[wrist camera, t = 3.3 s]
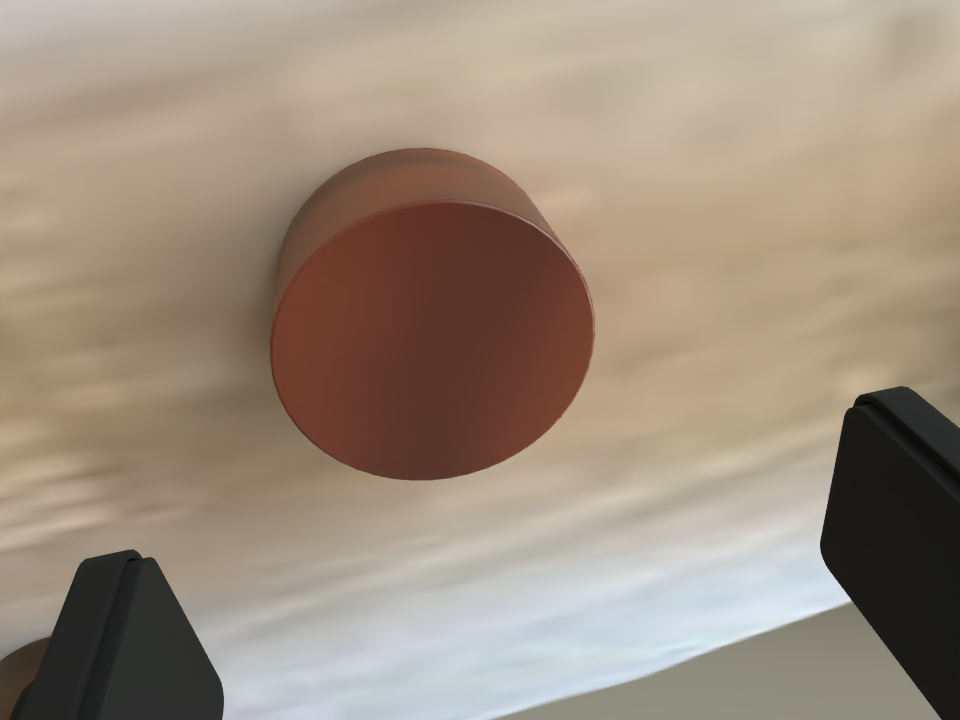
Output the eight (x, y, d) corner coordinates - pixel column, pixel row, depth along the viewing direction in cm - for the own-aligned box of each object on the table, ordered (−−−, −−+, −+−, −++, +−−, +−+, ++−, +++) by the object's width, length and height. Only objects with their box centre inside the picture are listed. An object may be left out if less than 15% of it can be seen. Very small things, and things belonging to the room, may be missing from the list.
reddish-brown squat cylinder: (251, 372, 16) (240, 458, 14) (314, 106, 13) (313, 154, 11) (497, 416, 18) (526, 499, 16) (595, 193, 15) (649, 250, 13)
